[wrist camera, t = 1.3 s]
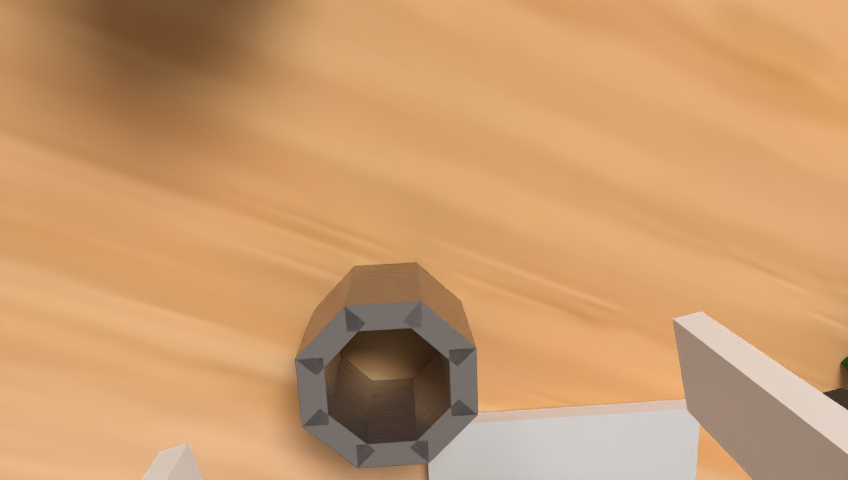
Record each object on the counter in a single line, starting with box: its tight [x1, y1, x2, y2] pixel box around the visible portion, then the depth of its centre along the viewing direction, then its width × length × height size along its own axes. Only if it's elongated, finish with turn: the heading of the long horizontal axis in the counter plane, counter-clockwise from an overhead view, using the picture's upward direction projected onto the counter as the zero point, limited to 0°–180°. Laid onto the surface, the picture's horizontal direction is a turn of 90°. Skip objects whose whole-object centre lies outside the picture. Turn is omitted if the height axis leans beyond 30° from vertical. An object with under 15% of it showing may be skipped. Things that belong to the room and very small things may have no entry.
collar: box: [295, 263, 478, 468], centre depth 32 cm, size 9×9×7 cm
